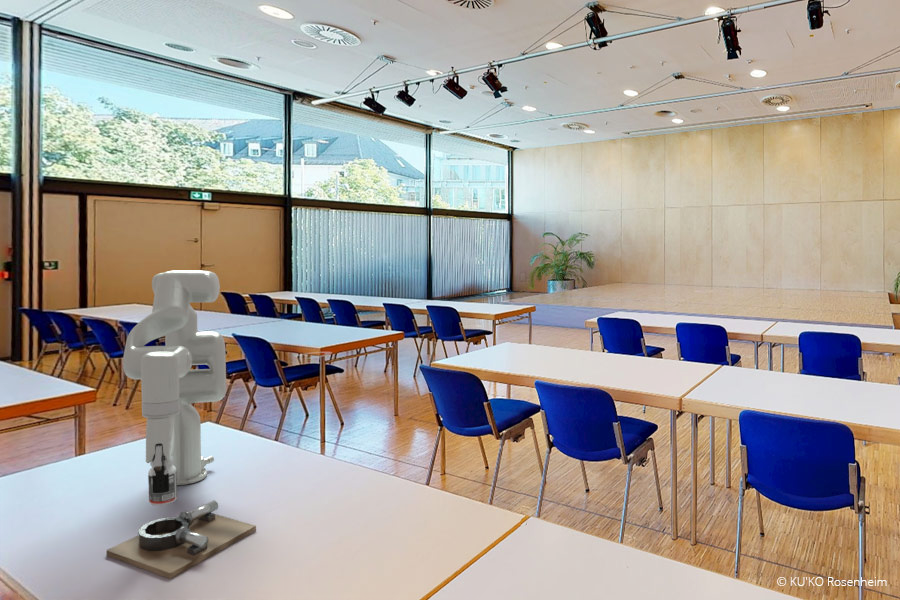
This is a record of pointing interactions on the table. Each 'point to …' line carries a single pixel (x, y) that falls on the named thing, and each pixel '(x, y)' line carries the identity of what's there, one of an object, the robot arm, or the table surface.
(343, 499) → the table surface
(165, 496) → the pill bottle
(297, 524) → the table surface
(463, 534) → the table surface
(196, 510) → the stand
